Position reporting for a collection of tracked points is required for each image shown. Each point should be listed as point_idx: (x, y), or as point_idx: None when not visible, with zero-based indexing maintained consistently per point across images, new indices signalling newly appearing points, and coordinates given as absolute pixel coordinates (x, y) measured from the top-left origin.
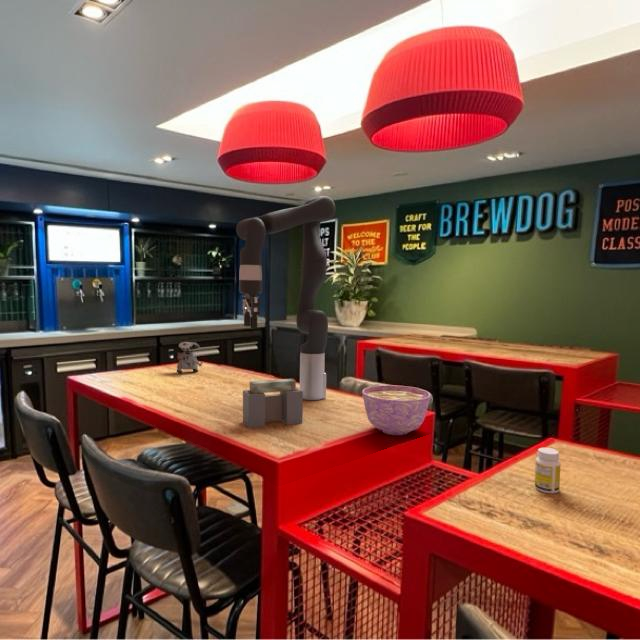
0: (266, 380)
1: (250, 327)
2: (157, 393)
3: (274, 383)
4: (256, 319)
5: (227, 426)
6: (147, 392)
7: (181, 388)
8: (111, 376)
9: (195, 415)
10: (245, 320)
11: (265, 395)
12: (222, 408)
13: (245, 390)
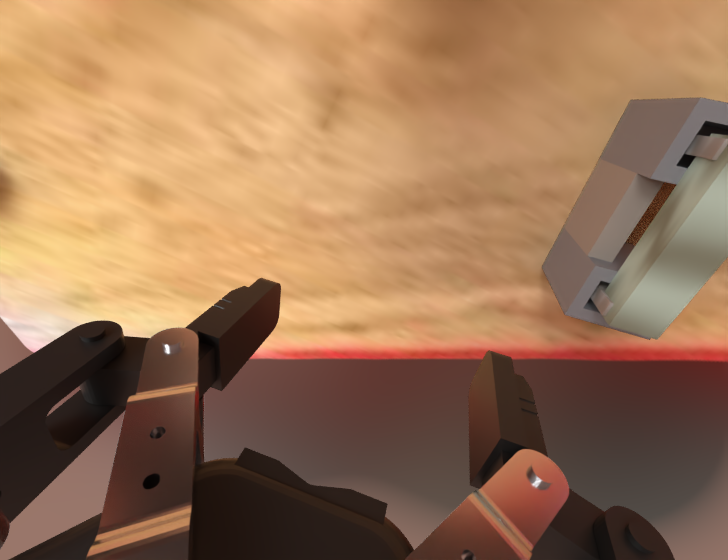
0: (654, 267)
1: (472, 394)
2: (186, 296)
3: (720, 259)
4: (543, 444)
5: (542, 310)
6: (173, 307)
7: (147, 234)
8: (23, 304)
9: (406, 318)
10: (251, 348)
11: (608, 236)
12: (382, 243)
13: (573, 310)
